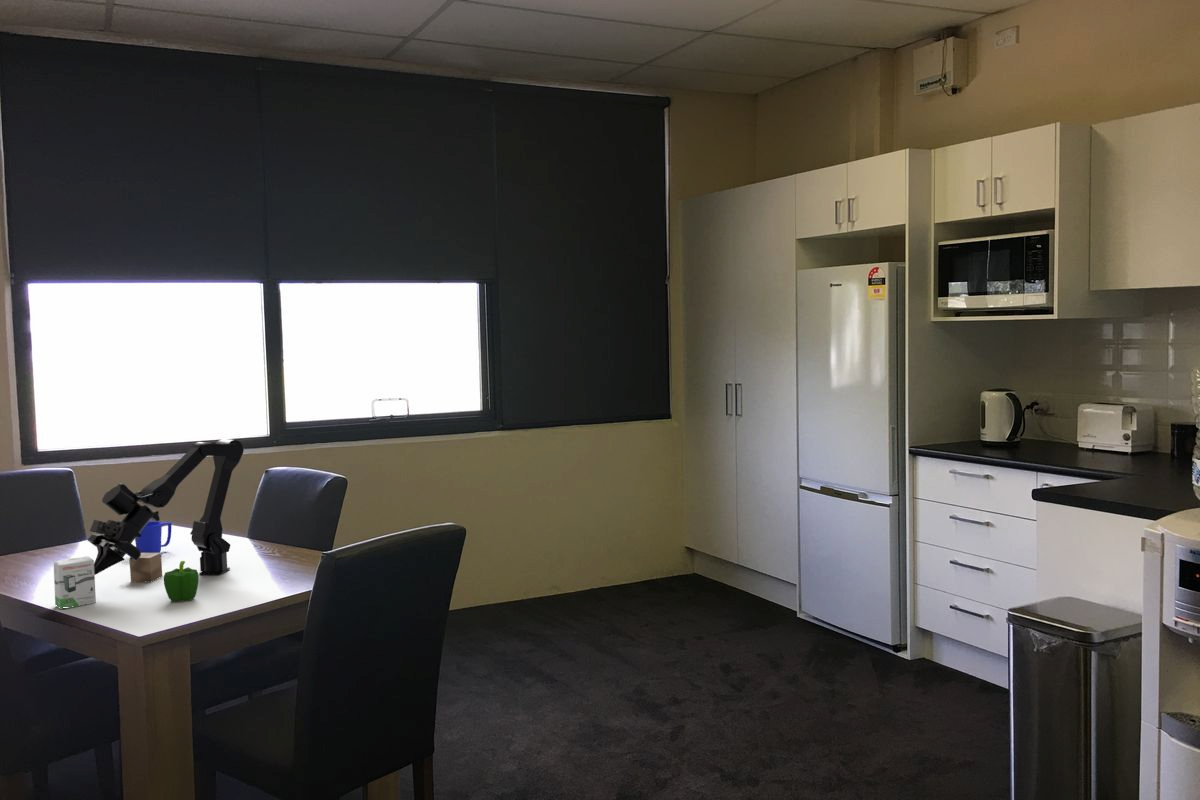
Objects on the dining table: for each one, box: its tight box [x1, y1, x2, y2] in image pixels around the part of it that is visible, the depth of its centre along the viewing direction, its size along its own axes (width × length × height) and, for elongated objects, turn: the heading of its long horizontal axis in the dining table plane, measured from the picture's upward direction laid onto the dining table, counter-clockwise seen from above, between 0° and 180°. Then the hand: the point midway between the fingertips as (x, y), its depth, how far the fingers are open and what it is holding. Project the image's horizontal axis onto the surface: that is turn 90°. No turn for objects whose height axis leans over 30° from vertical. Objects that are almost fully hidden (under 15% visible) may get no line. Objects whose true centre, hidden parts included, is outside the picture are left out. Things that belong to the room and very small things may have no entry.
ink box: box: [53, 555, 97, 609], centre depth 251 cm, size 9×5×12 cm, turn 133°
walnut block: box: [129, 552, 163, 583], centre depth 276 cm, size 6×6×7 cm
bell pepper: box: [163, 560, 199, 603], centre depth 254 cm, size 8×8×10 cm
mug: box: [134, 520, 172, 553], centre depth 307 cm, size 8×12×10 cm
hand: (92, 573), depth 255 cm, fingers closed
